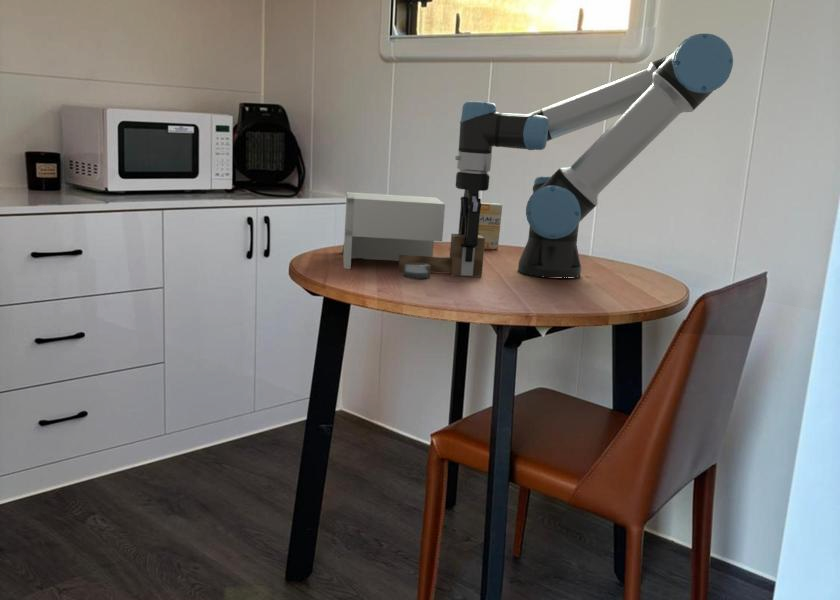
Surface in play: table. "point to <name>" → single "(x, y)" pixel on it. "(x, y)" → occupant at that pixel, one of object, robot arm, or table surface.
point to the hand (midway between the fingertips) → (464, 272)
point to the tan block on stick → (450, 258)
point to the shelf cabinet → (391, 226)
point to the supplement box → (490, 224)
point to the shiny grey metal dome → (416, 270)
